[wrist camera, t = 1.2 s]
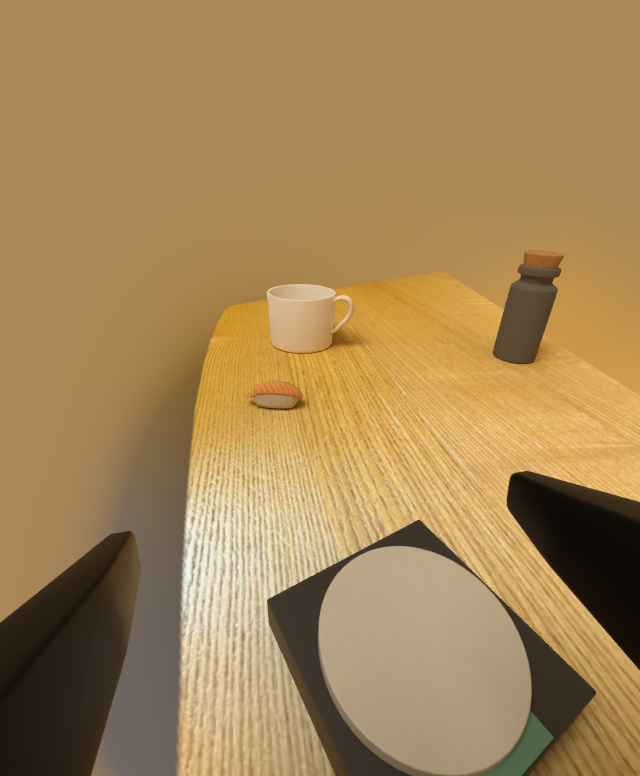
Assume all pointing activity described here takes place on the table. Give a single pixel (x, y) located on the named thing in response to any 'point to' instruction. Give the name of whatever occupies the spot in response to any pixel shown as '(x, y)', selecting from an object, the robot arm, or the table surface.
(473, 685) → the scale
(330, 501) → the table surface
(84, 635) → the robot arm
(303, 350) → the mug
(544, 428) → the table surface
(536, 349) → the bottle
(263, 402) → the sushi
